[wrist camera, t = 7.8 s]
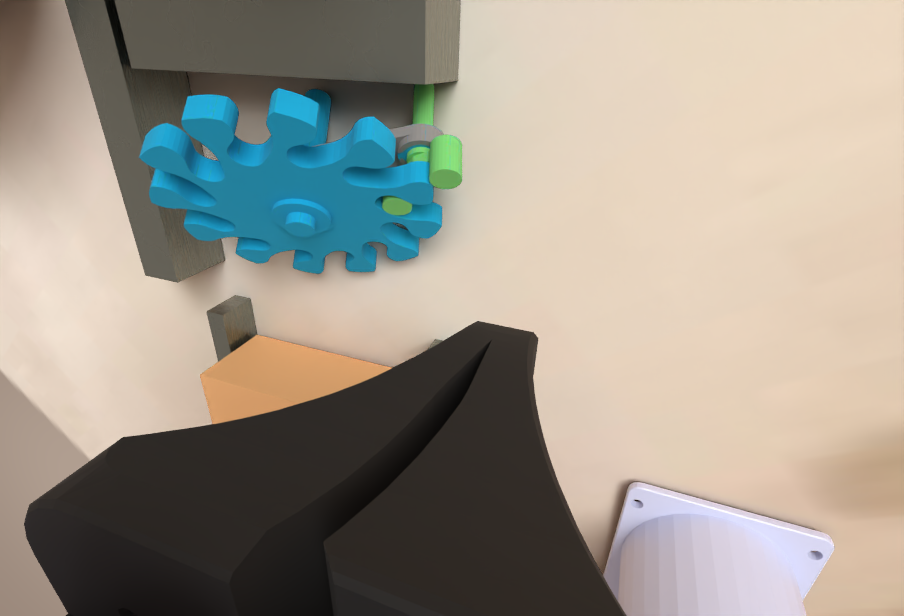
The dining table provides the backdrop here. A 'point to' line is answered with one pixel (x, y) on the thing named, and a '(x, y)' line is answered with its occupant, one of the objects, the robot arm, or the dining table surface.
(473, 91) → the dining table surface
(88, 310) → the dining table surface
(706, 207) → the dining table surface
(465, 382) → the robot arm
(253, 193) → the gear
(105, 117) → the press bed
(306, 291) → the dining table surface
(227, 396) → the press ram
